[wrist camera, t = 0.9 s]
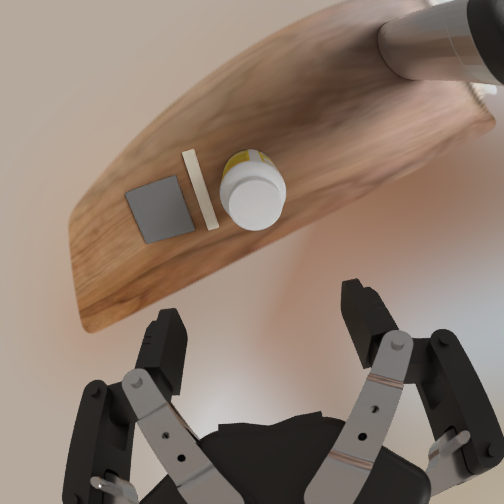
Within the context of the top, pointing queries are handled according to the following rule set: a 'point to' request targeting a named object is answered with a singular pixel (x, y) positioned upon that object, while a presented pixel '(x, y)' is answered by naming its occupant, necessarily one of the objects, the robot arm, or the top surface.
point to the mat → (160, 210)
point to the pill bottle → (252, 190)
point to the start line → (200, 189)
